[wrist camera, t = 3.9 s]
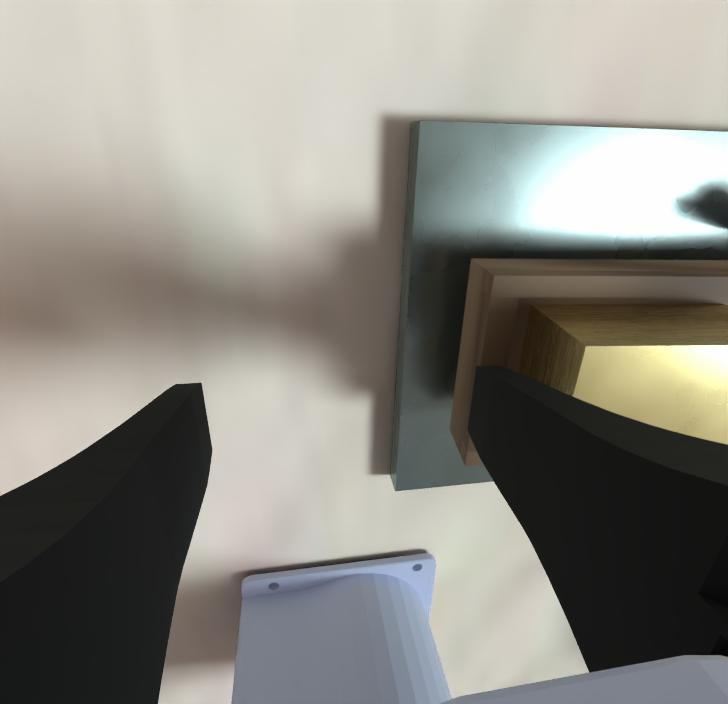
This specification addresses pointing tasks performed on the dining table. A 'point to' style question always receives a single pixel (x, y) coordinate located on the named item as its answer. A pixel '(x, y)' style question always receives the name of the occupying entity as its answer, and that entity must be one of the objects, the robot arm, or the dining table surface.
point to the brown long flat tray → (559, 286)
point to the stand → (530, 240)
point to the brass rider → (636, 361)
